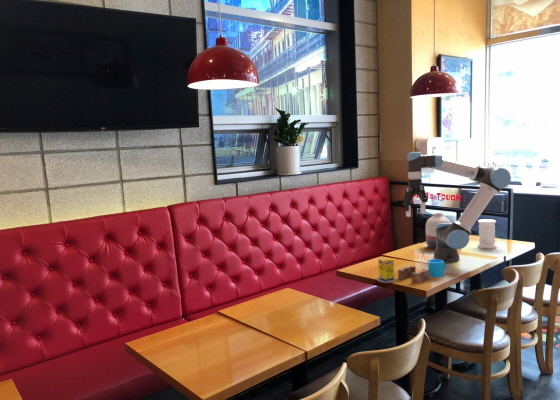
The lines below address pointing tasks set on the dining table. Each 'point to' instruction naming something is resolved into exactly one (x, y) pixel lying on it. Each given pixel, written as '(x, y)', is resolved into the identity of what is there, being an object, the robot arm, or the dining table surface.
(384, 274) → the supplement box
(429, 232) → the vase
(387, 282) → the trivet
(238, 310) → the dining table surface
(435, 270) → the mug
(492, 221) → the decorative container
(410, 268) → the pocket
